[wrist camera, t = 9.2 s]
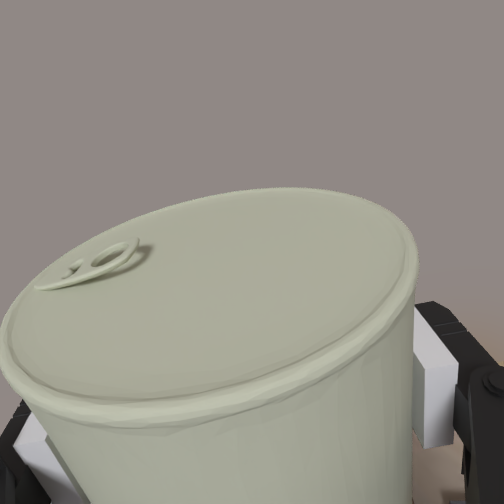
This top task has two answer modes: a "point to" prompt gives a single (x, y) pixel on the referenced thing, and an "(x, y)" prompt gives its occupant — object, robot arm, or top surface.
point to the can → (228, 353)
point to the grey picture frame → (457, 502)
